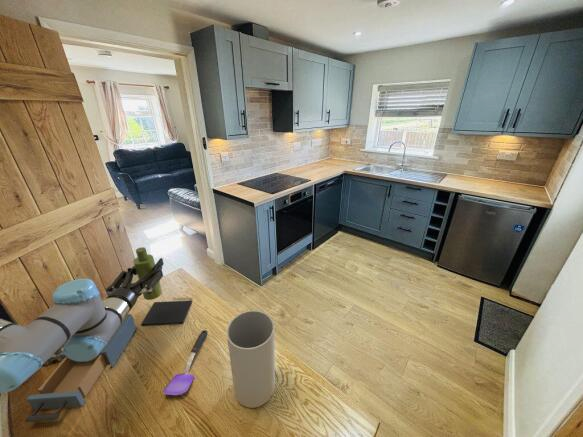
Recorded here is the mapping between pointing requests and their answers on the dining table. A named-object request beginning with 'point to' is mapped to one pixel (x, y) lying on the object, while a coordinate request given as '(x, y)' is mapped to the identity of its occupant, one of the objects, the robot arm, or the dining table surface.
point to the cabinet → (117, 340)
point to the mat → (167, 313)
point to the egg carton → (56, 355)
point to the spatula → (183, 381)
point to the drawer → (66, 387)
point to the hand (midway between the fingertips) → (152, 261)
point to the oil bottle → (146, 271)
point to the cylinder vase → (252, 357)
